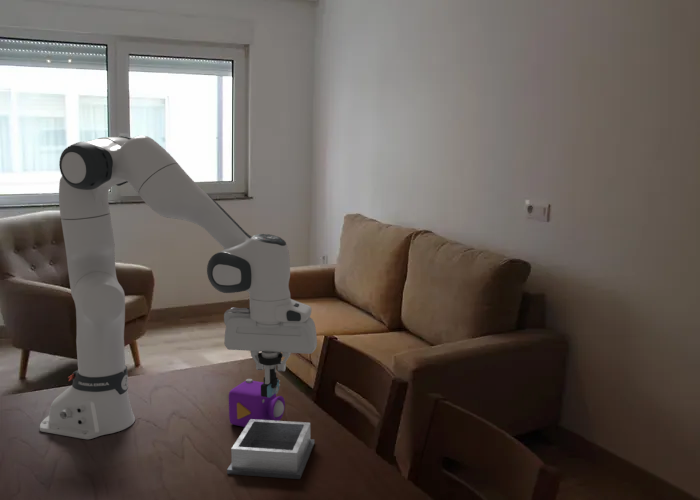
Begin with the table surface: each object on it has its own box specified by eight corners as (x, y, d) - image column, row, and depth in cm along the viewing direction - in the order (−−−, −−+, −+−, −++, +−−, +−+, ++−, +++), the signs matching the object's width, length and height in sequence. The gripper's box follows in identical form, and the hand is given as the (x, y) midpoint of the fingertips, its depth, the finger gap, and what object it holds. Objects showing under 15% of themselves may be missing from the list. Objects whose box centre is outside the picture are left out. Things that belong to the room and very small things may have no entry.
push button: (268, 384, 158) (268, 343, 156) (289, 388, 156) (289, 346, 154) (254, 396, 152) (253, 353, 150) (275, 400, 150) (275, 356, 148)
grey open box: (227, 474, 149) (226, 450, 148) (248, 439, 166) (248, 417, 165) (300, 479, 147) (299, 455, 146) (314, 443, 164) (314, 421, 163)
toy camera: (278, 434, 169) (277, 395, 167) (225, 429, 171) (224, 391, 170) (290, 416, 179) (290, 379, 177) (240, 411, 182) (239, 375, 180)
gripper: (219, 310, 149) (221, 372, 151) (313, 315, 146) (313, 377, 149) (228, 303, 155) (229, 362, 157) (318, 307, 152) (318, 367, 155)
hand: (271, 369), depth 153 cm, fingers closed on push button, 3 cm apart
